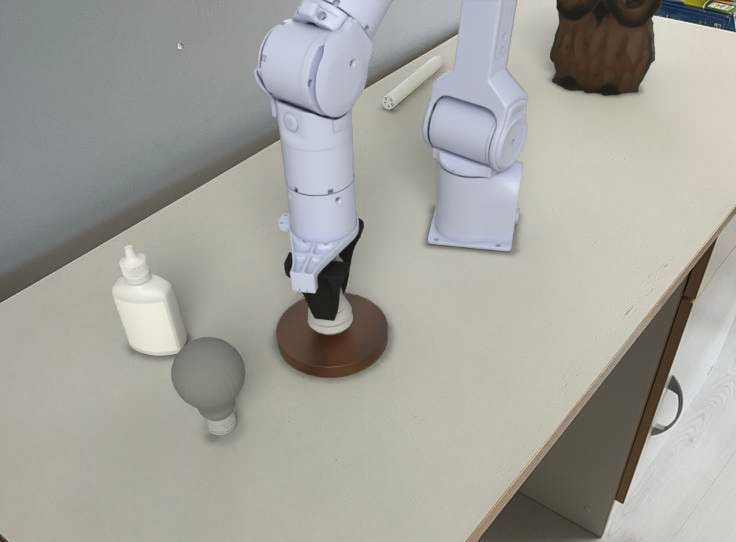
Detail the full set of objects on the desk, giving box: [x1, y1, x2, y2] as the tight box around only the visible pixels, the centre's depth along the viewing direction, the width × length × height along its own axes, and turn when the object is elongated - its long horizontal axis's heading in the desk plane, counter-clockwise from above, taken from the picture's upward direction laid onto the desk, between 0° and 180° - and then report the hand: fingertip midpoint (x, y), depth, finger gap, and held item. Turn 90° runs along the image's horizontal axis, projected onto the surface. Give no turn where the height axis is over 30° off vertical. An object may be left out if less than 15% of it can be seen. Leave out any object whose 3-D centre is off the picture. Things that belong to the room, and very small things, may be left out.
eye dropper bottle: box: [111, 244, 188, 357], centre depth 68 cm, size 4×6×12 cm
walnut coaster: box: [275, 291, 389, 379], centre depth 71 cm, size 11×11×2 cm
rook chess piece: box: [308, 254, 353, 335], centre depth 67 cm, size 4×4×8 cm
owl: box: [549, 0, 663, 97], centre depth 103 cm, size 13×13×20 cm
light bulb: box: [170, 336, 246, 436], centre depth 60 cm, size 6×6×10 cm
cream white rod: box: [381, 55, 445, 110], centre depth 111 cm, size 18×2×2 cm, turn 149°
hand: (330, 303), depth 68 cm, fingers closed on rook chess piece, 3 cm apart
